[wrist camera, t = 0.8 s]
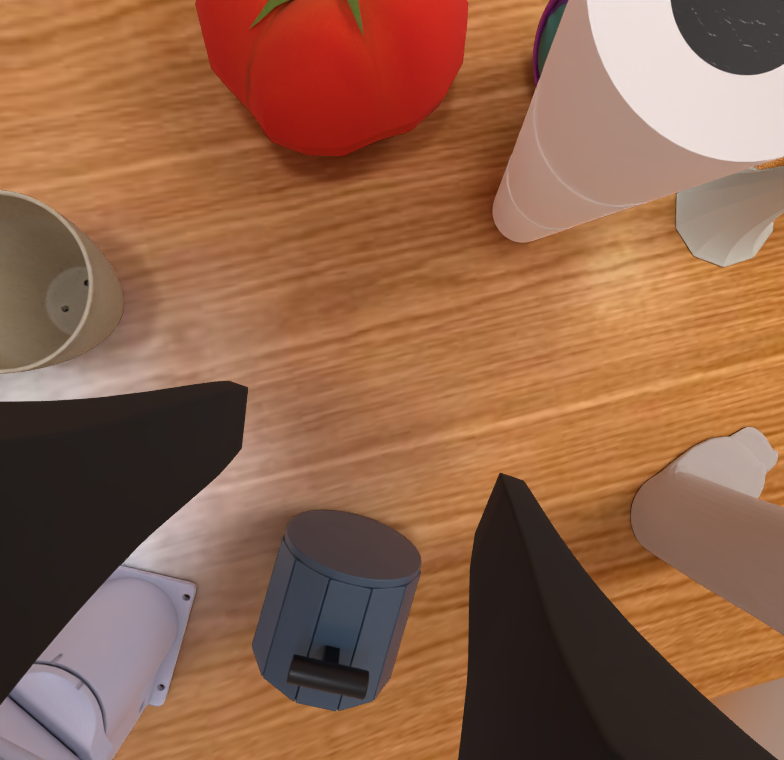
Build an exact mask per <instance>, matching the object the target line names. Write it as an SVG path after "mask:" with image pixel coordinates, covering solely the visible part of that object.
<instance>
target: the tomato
mask: <svg viewBox="0 0 784 760" xmlns="http://www.w3.org/2000/svg"><path fill="white" fill-rule="evenodd" d="M196 8H197V13H198V17H199V21H200V25H201V30H202V34H203V38H204V42H205V46H206V50H207V54H208V58H209V62H210V66H211V69H212V70H213V71H214V72H215V74H216V75H217V76H218V77H219V78H220V80H221V81H222V82H223V83H224V84H225V85H226V86H227V87H228V88H229V90H230V91H231V92H232V93H233V94H234V95H235V96H236V97H237V98H238V99H239V100H240V101H241V102H242V103H243V104H244V106H245V107H246V108H247V109H248V110H249V111H250V112H251V113H252V114H253V116H254V117H255V118H256V120H257V121H258V123H259V124H260V126H261V127H262V129H263V131H264V132H265V134H266V135H267V136H268V137H269V139H270V140H271V141H272V142H273V143H276V144H279V145H281V146H284V147H287V148H289V149H292V150H295V151H297V152H300V153H303V154H305V155H326V156H344V155H346V154H349V153H351V152H353V151H355V150H358V149H360V148H362V147H364V146H366V145H369V144H371V143H373V142H375V141H378V140H381V139H385V138H388V137H391V136H395V135H399V134H403V133H406V132H409V131H411V130H412V129H414V128H415V127H416V126H417V125H418V124H419V123H420V122H421V121H423V120H424V119H425V118H426V117H427V116H428V115H429V114H430V113H432V112H433V111H434V110H435V109H436V108H437V107H438V106H439V104H440V103H441V101H442V100H443V98H444V97H445V95H446V93H447V91H448V90H449V88H450V86H451V84H452V82H453V80H454V78H455V76H456V75H457V73H458V71H459V69H460V67H461V65H462V63H463V56H464V47H465V39H466V30H467V18H468V2H467V0H196Z"/></svg>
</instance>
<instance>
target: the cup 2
mask: <svg viewBox="0 0 784 760" xmlns="http://www.w3.org/2000/svg"><path fill="white" fill-rule="evenodd" d="M782 157H784V0H568V3H567V5H566V8H565V11H564V13H563V16H562V19H561V21H560V24H559V27H558V29H557V32H556V35H555V37H554V40H553V43H552V46H551V48H550V51H549V54H548V56H547V59H546V62H545V64H544V67H543V71H542V74H541V77H540V79H539V81H538V84H537V87H536V89H535V92H534V95H533V98H532V100H531V103H530V106H529V109H528V111H527V114H526V117H525V120H524V122H523V125H522V128H521V131H520V133H519V136H518V139H517V141H516V144H515V147H514V150H513V153H512V155H511V157H510V160H509V162H508V165H507V168H506V170H505V173H504V175H503V178H502V181H501V183H500V186H499V189H498V191H497V194H496V197H495V199H494V203H493V209H492V213H493V219H494V222H495V225H496V227H497V228H498V230H499V231H500V232H501V233H502V234H503V235H504V236H505V237H506V238H508V239H510V240H512V241H515V242H519V243H527V242H532V241H535V240H537V239H540V238H543V237H546V236H549V235H552V234H555V233H558V232H561V231H564V230H567V229H570V228H572V227H575V226H577V225H581V224H584V223H587V222H590V221H593V220H596V219H599V218H602V217H605V216H608V215H611V214H614V213H617V212H620V211H623V210H626V209H629V208H632V207H635V206H638V205H641V204H644V203H647V202H650V201H653V200H657V199H660V198H663V197H666V196H669V195H672V194H675V193H678V192H681V191H684V190H687V189H690V188H693V187H696V186H699V185H701V184H704V183H707V182H710V181H713V180H716V179H719V178H722V177H725V176H728V175H731V174H734V173H737V172H740V171H743V170H746V169H749V168H752V167H755V166H758V165H761V164H764V163H767V162H770V161H773V160H776V159H779V158H782Z"/></svg>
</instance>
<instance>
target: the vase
mask: <svg viewBox="0 0 784 760" xmlns="http://www.w3.org/2000/svg"><path fill="white" fill-rule="evenodd" d="M783 213H784V166H780V167H775V168H770V169H762V170H757V169H756V168H754V167H752V168H749V169H746V170H743V171H740V172H737V173H734V174H731V175H728V176H725V177H722V178H719V179H716V180H713V181H710V182H707V183H704V184H701V185H699V186H696V187H693V188H690V189H687V190H684V191H681V192H678V193H677V202H676V229H677V230H678V232H679V234H680V235H681V237H682V238H683V240H684V241H685V243H686V245H687V246H688V248H689V249H690V251H691V252H692V254H693V256H695V257H698V258H701V259H703V260H706V261H709V262H711V263H714V264H716V265H719V266H722V267H726V266H729V265H732V264H735V263H738V262H741V261H744V260H747V259H751V258H754V256H755V255H756V253H757V252H758V251H759V249H760V248H761V247H762V245H763V244H764V242H765V241H766V240H767V238H768V237H769V235H770V234H771V233H772V231H773V221H774V220H775V219H776V218H778V217H779V216H780V215H781V214H783Z"/></svg>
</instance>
